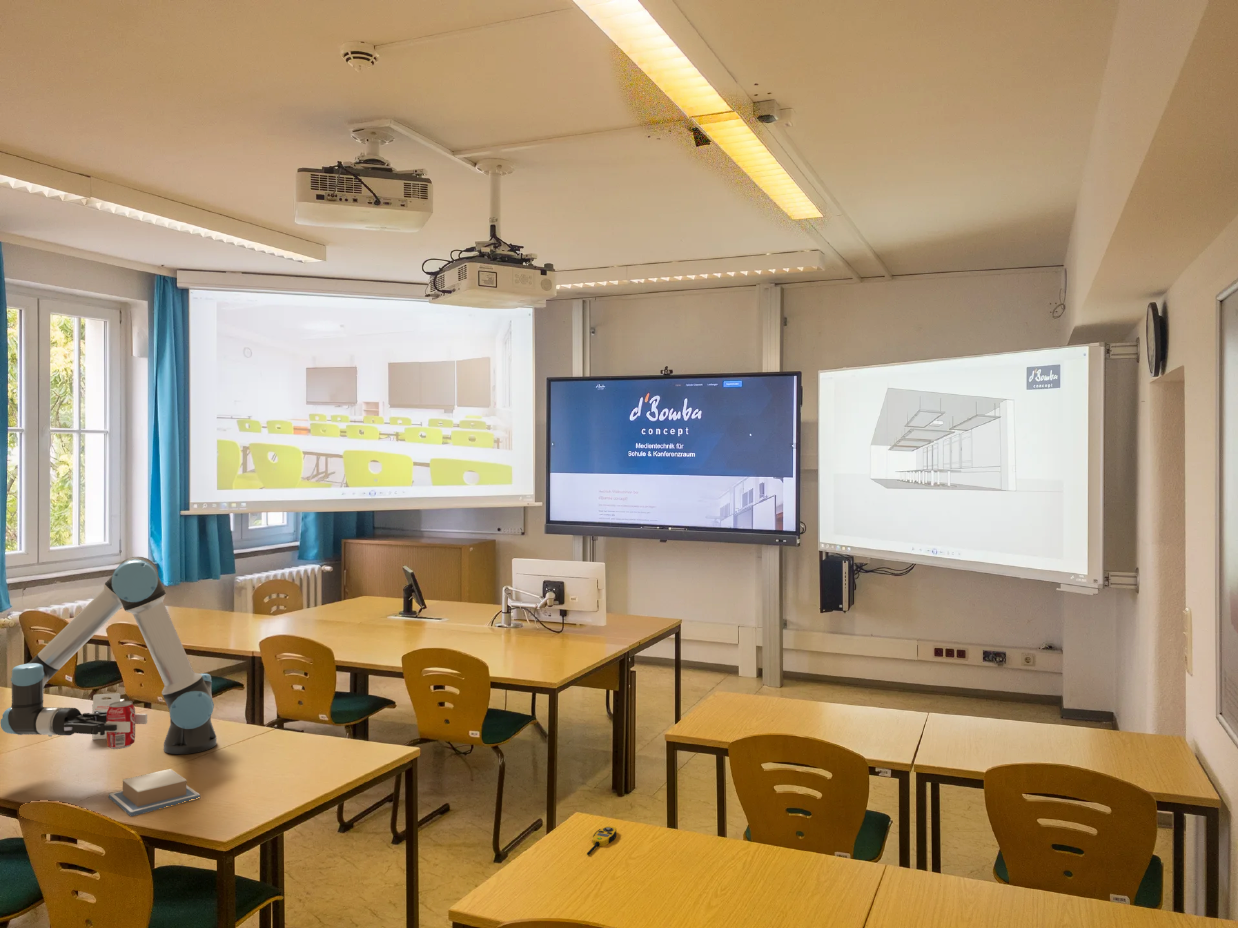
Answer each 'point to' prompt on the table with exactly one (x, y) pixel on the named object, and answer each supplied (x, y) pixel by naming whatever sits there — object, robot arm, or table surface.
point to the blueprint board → (152, 792)
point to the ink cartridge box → (103, 707)
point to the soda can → (121, 713)
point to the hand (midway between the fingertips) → (137, 722)
